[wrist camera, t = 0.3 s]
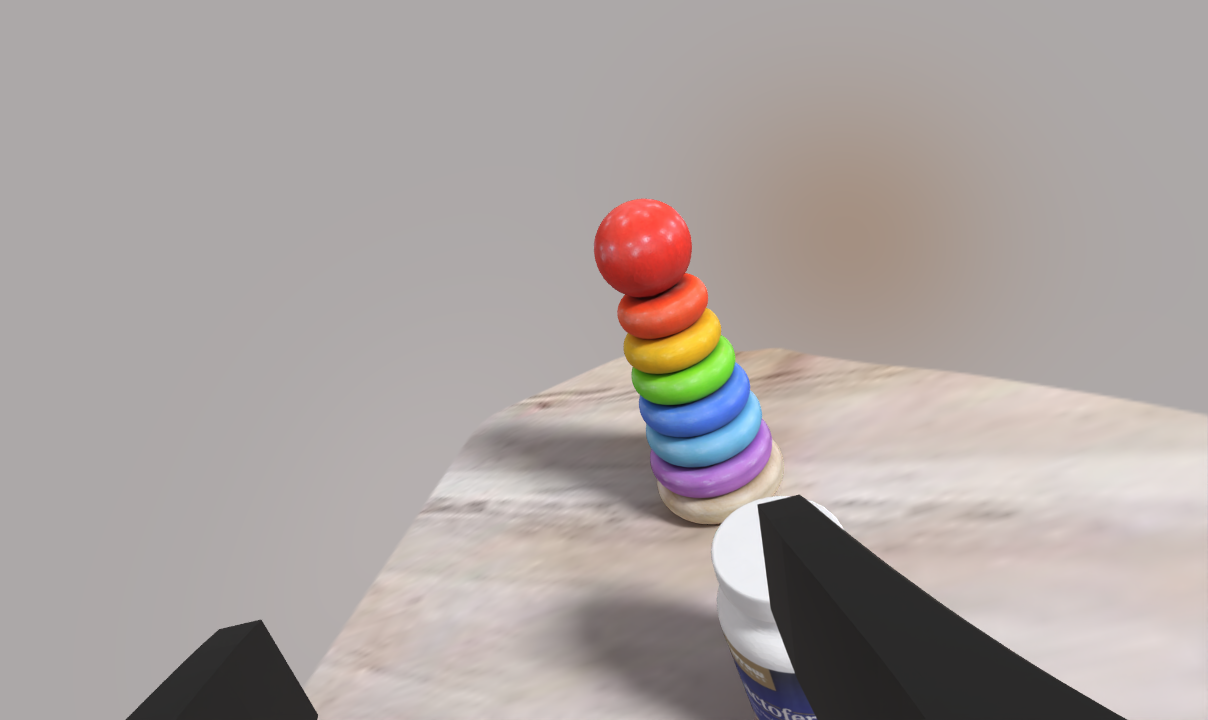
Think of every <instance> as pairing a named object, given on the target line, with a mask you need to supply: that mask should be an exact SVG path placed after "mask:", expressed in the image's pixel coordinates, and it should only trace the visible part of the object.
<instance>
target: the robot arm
mask: <svg viewBox="0 0 1208 720" xmlns="http://www.w3.org/2000/svg"><path fill="white" fill-rule="evenodd" d="M757 506H758V514H759V522H760V530H761V537H762V545H763V553H764V561H765V569H766V576H767V584H768V592H769V600H770V608H771V611H772V614H773V617H774V620H775V622H776V625H777V628H778V630H779V633H780V636H781V638H782V641H783V644H784V646H785V649H786V652H787V654H788V657H789V659H790V662H791V664H792V667H793V670H794V672H795V675H796V677H797V680H798V682H799V684H800V686H801V688H802V690H803V692H804V694H805V696H806V698H807V700H808V702H809V704H810V706H811V708H812V710H813V712H814V714H815V716H816V718H817V720H1127V719H1125V718H1123V717H1122V716H1120V715H1118V714H1116V713H1114V712H1113V711H1111V710H1109V709H1107V708H1106V707H1104V706H1102V705H1101V704H1099V703H1097V702H1095V701H1094V700H1092V699H1090V698H1089V697H1087V696H1085V695H1083V694H1082V693H1080V692H1078V691H1077V690H1075V689H1073V688H1071V687H1070V686H1068V685H1066V684H1065V683H1063V682H1061V681H1060V680H1058V679H1056V678H1055V677H1053V676H1051V675H1050V674H1048V673H1046V672H1045V671H1043V670H1042V669H1040V668H1038V667H1037V666H1035V665H1033V664H1032V663H1030V662H1029V661H1027V660H1026V659H1024V658H1022V657H1021V656H1019V655H1018V654H1016V653H1014V652H1013V651H1011V650H1010V649H1008V648H1007V647H1005V646H1004V645H1002V644H1001V643H999V642H998V641H996V640H995V639H993V638H992V637H990V636H989V635H987V634H985V633H984V632H982V631H981V630H979V629H978V628H976V627H975V626H973V625H972V624H970V623H969V622H967V621H966V620H964V619H963V618H962V617H960V616H959V615H957V614H956V613H954V612H953V611H951V610H950V609H949V608H947V607H946V606H944V605H943V604H941V603H940V602H938V601H937V600H936V599H934V598H933V597H932V596H930V595H929V594H927V593H926V592H925V591H923V590H922V589H921V588H919V587H918V586H916V585H915V584H914V583H912V582H911V581H910V580H908V579H907V578H906V577H904V576H903V575H901V574H900V573H899V572H897V571H896V570H895V569H893V568H892V567H891V566H889V565H888V564H887V563H885V562H884V561H883V560H881V559H880V558H879V557H877V556H876V555H875V554H874V553H872V552H871V551H870V550H868V549H867V548H866V547H865V546H863V545H862V544H861V543H860V542H858V541H857V540H856V539H854V538H853V537H852V536H851V535H849V534H848V533H847V532H846V531H845V530H843V529H842V528H841V527H840V526H838V525H837V524H836V523H835V522H833V521H832V520H831V519H830V518H829V517H827V516H826V515H825V514H824V513H822V512H821V511H820V510H819V509H818V508H816V507H815V506H814V505H813V504H812V503H810V502H809V501H808V500H807V499H805V498H804V497H802V496H800V495H796V496H791V497H787V498H783V499H779V500H774V501H770V502H766V503H761V504H757ZM317 718H318V714H317V712H316V711H315V709H314V707H313V706H312V704H311V702H310V701H309V699H308V697H307V696H306V694H305V692H304V690H303V689H302V687H301V686H300V684H299V682H298V681H297V679H296V677H295V676H294V674H293V672H292V670H291V669H290V667H289V665H288V664H287V662H286V660H285V659H284V657H283V655H282V654H281V652H280V651H279V649H278V647H277V645H276V644H275V642H274V640H273V638H272V637H271V635H270V633H269V632H268V630H267V628H266V627H265V625H264V624H263V622H262V620H258V621H253V622H249V623H244V624H240V625H236V626H231V627H227V628H223V629H219V630H218V631H217V632H216V633H215V634H214V635H212V636H211V637H210V638H209V639H208V640H207V641H206V642H204V643H203V644H202V645H201V646H200V647H199V648H198V649H197V650H196V651H195V652H194V653H193V654H192V655H191V656H190V657H188V658H187V659H186V660H185V661H184V662H183V663H182V664H181V665H180V666H179V667H178V668H177V669H176V670H175V671H174V672H173V673H172V674H171V675H170V676H169V677H168V678H167V679H166V680H165V681H164V682H163V683H162V684H161V685H160V686H159V687H158V688H157V689H156V690H155V691H154V692H153V693H152V694H151V695H150V696H149V697H148V698H147V699H146V700H145V701H144V702H143V703H142V704H141V705H140V706H139V707H138V708H137V709H136V710H135V711H134V712H133V713H132V714H131V715H130V716H129V717H128V718H127V719H126V720H317Z"/></svg>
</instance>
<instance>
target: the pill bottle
mask: <svg viewBox="0 0 1208 720" xmlns="http://www.w3.org/2000/svg"><path fill="white" fill-rule="evenodd" d="M787 497H791V496H773V497H766V498H762V499H758V500H755V501H752V502H750V503H747V504H745V505H743V506H742V507H740V508H738V509H737V510H735V511H734V512H732V513H731V514H730V515H729V516H728V517H727V518H726V519H725V520H724V521H723V522H722V523H721V525H720V527H719V528H718V530H717V531H716V533H715V536H714V539H713V542H712V547H711V558H712V563H713V567H714V570H715V573H716V577H717V580H718V582H719V588H718V593H717V611H718V617H719V621H720V624H721V628H722V630H723V633H724V636H725V638H726V641H727V643H728V646H729V648H730V651H731V654H732V656H733V659H734V661H735V664H736V667H737V669H738V672H739V675H740V677H741V679H742V682H743V685H744V687H745V690H746V692H747V695H748V698H749V700H750V703H751V706H752V708H753V711H754V713H755V716H756V718H757V720H817V718H816V716H815V714H814V712H813V710H812V708H811V706H810V704H809V702H808V700H807V698H806V696H805V694H804V692H803V690H802V688H801V686H800V684H799V682H798V680H797V677H796V675H795V672H794V670H793V667H792V664H791V662H790V659H789V657H788V654H787V652H786V649H785V646H784V644H783V641H782V638H781V636H780V633H779V630H778V628H777V625H776V622H775V620H774V617H773V614H772V611H771V608H770V600H769V592H768V584H767V576H766V569H765V561H764V553H763V545H762V537H761V530H760V522H759V514H758V506H757V504H761V503H766V502H770V501H774V500H779V499H783V498H787ZM808 501H809V502H810V503H812V504H813V505H814V506H815V507H816V508H818V509H819V510H820V511H821V512H822V513H824V514H825V515H826V516H827V517H829V518H830V519H831V520H832V521H833V522H835V523H836V524H837V525H838V526H840V527H841V528H842V529H843V527H842V526H841V524H840V522H839V521H838V520H837V518H836V517H835V516H834V515H833V514H832V513H831V512H830V511H828V510H827V509H826V508H824V507H823V506H821V505H819V504H817V503H815V502H813V501H810V500H808ZM843 530H844V529H843Z"/></svg>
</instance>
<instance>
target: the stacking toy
mask: <svg viewBox="0 0 1208 720" xmlns="http://www.w3.org/2000/svg"><path fill="white" fill-rule="evenodd" d="M691 252H692V243H691V236H690V233H689V230H688V227H687V225H686V223H685V221H684V220H683V219H682V217H681V216H680V215H679V214H678V213H677V212H676V211H675V210H674V209H673V208H672V207H670V206H669V205H667V204H665V203H663V202H660V201H657V200H653V199H637V200H632V201H628V202H626V203H623V204H621V205H619V206H618V207H616V208H614V209H613V210H612V211H611V212H610V213H609V214H608V215H607V216H606V217H605V218H604V219H603V221H602V223H601V224H600V226H599V228H598V230H597V234H596V236H595V242H594V254H595V260H596V263H597V267H598V269H599V271H600V273H601V274H602V276H603V278H604V279H605V280H606V281H607V283H608V284H610V285H611V286H612V287H613V288H614V289H616V290H617V291H619V292H621V293H623V294H625V295H624V297H623V298H622V299H621V301H620V303H619V306H618V311H617V312H618V319H619V322H620V324H621V326H622V327H623V329H624V330H625V331H626V332H628V334H627V336H626V338H625V341H624V354H625V356H626V359H627V360H628V362H629V363H630V364H631V365H632V366H633V368H632V382H633V385H634V387H635V389H636V391H637V392H638V393H639V394H640V399H639V408H640V413H641V415H642V417H643V419H644V421H645V422H646V423H647V424H646V436H647V440H648V443H649V445H650V447H651V454H650V463H651V467H652V470H653V473H654V475H655V476H656V478H657V486H658V491H659V494H660V497H661V499H662V500H663V502H664V503H665V505H666V506H667V507H668V508H669V509H670V510H671V511H672V512H673V513H675V514H676V515H678V516H679V517H681V518H683V519H685V520H688V521H691V522H695V523H700V524H720V523H722V522H723V521H724V520H725V519H726V518H727V517H728V516H729V515H730V514H731V513H732V512H734V511H735V510H737V509H738V508H740V507H742V506H743V505H745V504H747V503H750V502H752V501H755V500H758V499H762V498H766V497H772V496H773V495H774V494H775V493H776V491H777V489H778V488H779V486H780V483H781V481H782V478H783V473H784V461H783V456H782V454H781V451H780V449H779V447H778V446H777V444H776V443H775V442H774V441H773V440H772V437H771V433H770V430H769V428H768V426H767V424H766V423H765V421H764V420H763V419H762V411H761V407H760V403H759V401H758V399H757V397H756V396H755V395H754V393H753V392H752V391H751V390H750V383H749V379H748V376H747V374H746V373H745V371H744V370H743V368H742V367H741V366H740V365H738V364H737V363H736V362H735V353H734V350H733V347H732V345H731V344H730V342H729V341H728V340H727V339H726V338H725V337H724V336H722V335H721V325H720V322H719V320H718V318H717V316H716V315H715V314H714V313H713V312H712V311H711V310H710V309H707V308H706V306H707V303H708V294H707V290H706V287H705V285H704V283H703V282H702V281H701V280H700V279H699V278H697V277H695V276H693V275H691V274H687V273H685V272H686V270H687V268H688V266H689V263H690V259H691Z"/></svg>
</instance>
